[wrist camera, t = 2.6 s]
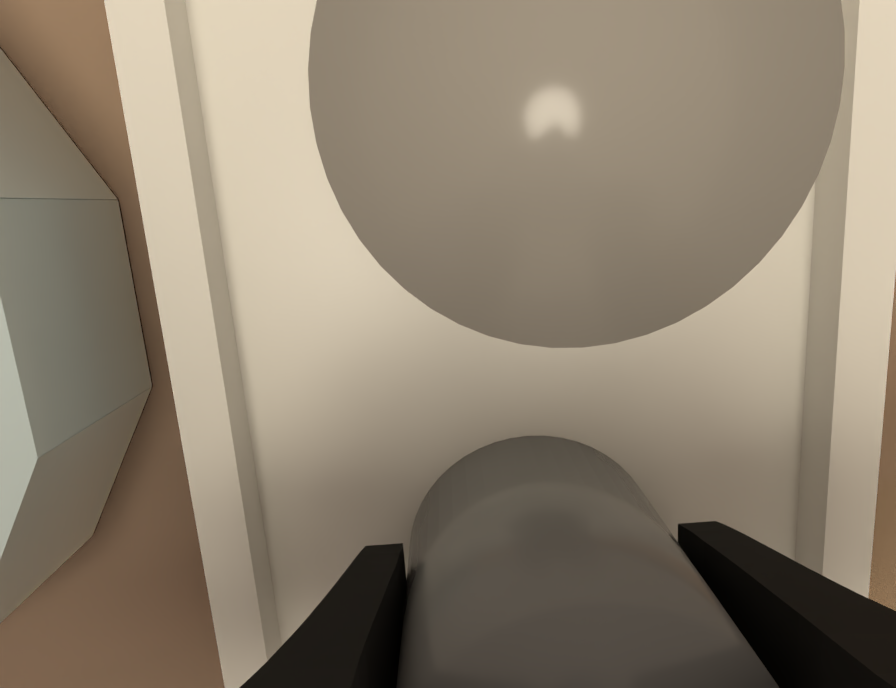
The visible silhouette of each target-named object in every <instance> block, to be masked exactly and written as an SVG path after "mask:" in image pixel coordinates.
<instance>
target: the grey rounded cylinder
mask: <svg viewBox="0 0 896 688" xmlns="http://www.w3.org/2000/svg"><path fill="white" fill-rule="evenodd" d="M844 68H845V28H844V20H843V12H842V4H841V0H317V2H316V7H315V12H314V17H313V23H312V28H311V34H310V48H309V62H308V80H309V99H310V111H311V116H312V122H313V128H314V133H315V139H316V144H317V147H318V151H319V154H320V157H321V160H322V164H323V167H324V170H325V173H326V177H327V179H328V182H329V184H330V186H331V188H332V190H333V193H334V195H335V197H336V199H337V202H338V204H339V206H340V208H341V210H342V212H343V214H344V215H345V217H346V219H347V220H348V222H349V223H350V225H351V227H352V228H353V230H354V232H355V233H356V235H357V237H358V238H359V240H360V241H361V242H362V243H363V245H364V246H365V247H366V248H367V250H368V251H369V252H370V253H371V255H372V256H373V257H374V258H375V260H376V261H377V262H378V263H379V265H380V266H381V267H382V268H383V269H384V270H385V271H386V272H387V273H388V274H389V275H390V276H391V277H392V278H393V279H395V280H396V281H397V282H398V283H399V284H400V285H401V286H402V287H403V288H404V289H405V290H406V291H408V292H409V293H410V294H412V295H413V296H414V297H416V298H417V299H418V300H420V301H421V302H423V303H424V304H425V305H427V306H428V307H429V308H431V309H432V310H434V311H436V312H438V313H440V314H441V315H443V316H445V317H447V318H449V319H450V320H452V321H454V322H456V323H457V324H459V325H462V326H464V327H467V328H469V329H472V330H474V331H477V332H479V333H482V334H484V335H487V336H490V337H494V338H498V339H502V340H506V341H510V342H514V343H517V344H523V345H532V346H540V347H548V348H584V347H591V346H599V345H606V344H613V343H618V342H622V341H625V340H629V339H633V338H637V337H640V336H644V335H648V334H650V333H652V332H655V331H657V330H660V329H662V328H665V327H667V326H670V325H672V324H675V323H677V322H679V321H681V320H683V319H684V318H686V317H688V316H690V315H692V314H693V313H695V312H697V311H699V310H701V309H702V308H704V307H706V306H707V305H709V304H710V303H712V302H713V301H714V300H716V299H717V298H719V297H720V296H721V295H723V294H724V293H725V292H727V291H728V290H730V289H731V288H732V287H734V286H735V285H736V284H737V283H738V282H739V281H740V280H741V279H742V278H743V277H745V276H746V275H747V274H748V273H749V272H750V271H751V270H752V269H753V268H754V267H755V266H756V265H758V264H759V263H760V261H761V260H762V259H763V258H764V257H765V256H766V254H767V253H768V252H769V251H770V250H771V249H772V247H773V246H774V245H775V244H776V243H777V242H778V240H779V239H780V238H781V237H782V236H783V234H784V233H785V231H786V230H787V228H788V227H789V225H790V224H791V222H792V221H793V219H794V218H795V216H796V215H797V213H798V212H799V210H800V209H801V207H802V206H803V204H804V202H805V200H806V198H807V196H808V194H809V192H810V190H811V188H812V186H813V184H814V182H815V180H816V178H817V176H818V174H819V172H820V169H821V166H822V164H823V161H824V158H825V156H826V153H827V150H828V148H829V145H830V142H831V139H832V135H833V131H834V127H835V123H836V119H837V115H838V111H839V107H840V101H841V93H842V85H843V76H844Z"/></svg>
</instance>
